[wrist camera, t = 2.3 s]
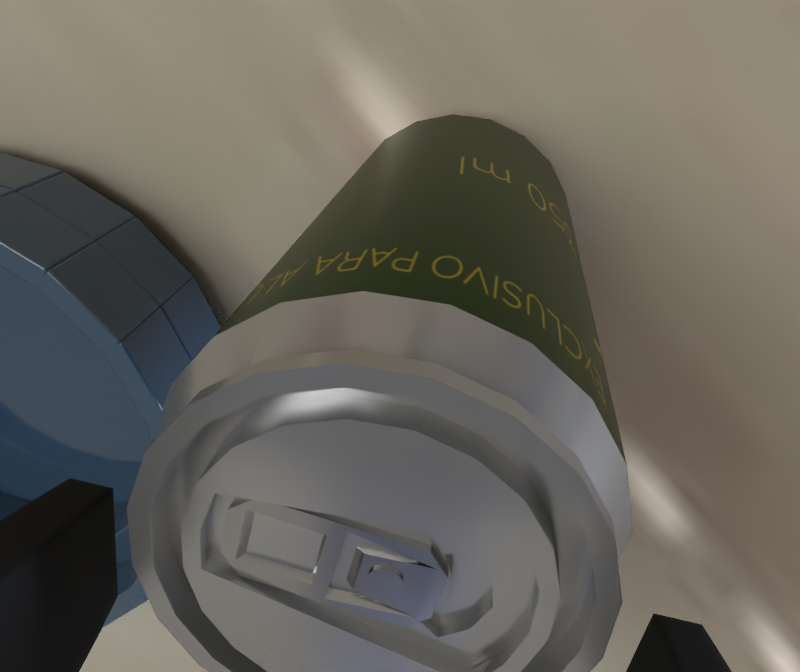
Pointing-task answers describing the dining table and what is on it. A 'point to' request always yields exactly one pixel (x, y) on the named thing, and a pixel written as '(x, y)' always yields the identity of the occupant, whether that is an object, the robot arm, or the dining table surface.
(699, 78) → the dining table surface
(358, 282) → the beer can
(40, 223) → the bowl
